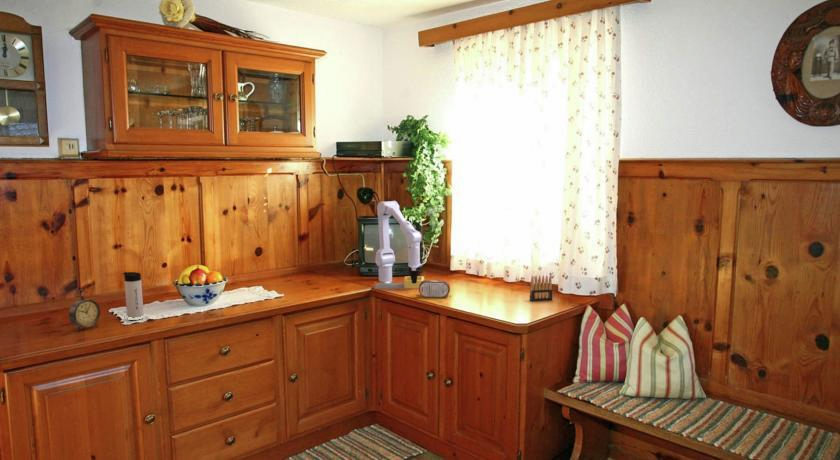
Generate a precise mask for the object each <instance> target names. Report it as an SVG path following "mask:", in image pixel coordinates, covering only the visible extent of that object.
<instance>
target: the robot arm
mask: <svg viewBox="0 0 840 460" xmlns="http://www.w3.org/2000/svg"><path fill="white" fill-rule="evenodd" d="M376 209H377V222H378V238H379V249H377V251H376V252H375V259H374V262H375V264H376V266H377V267H378V281H379V283H389V282H390V283H391V282H392V281H393V266H394V264H395V262H396V256H395V254H394V253H395V252H394V250H393V249H392V248H391V247H390V245H391V242H390V241H391V240H390V228H389V227H390V223H389V219H390V217H391V216H392V217H393V218H394V219H395V220H396V221H397V223H399V225H400V226H399V228H400V230H401V231H402V233H403V235H404V236H405V241H406V244H407V247H408V250H407V251H408V257H407V258H408V264H407V266H408V269H407V270H408V273H409V277H411V281H412V283H416V282H417V277H419V273H420V271H421V270H420V269H421V267H422V266H423V264H422V263H421V261H420V260H421V255H420V254H421V252H420V250H421V249H420V248H421V245H420V243H421V242H422V241H423V235H422V233H421V231H418V230H416V229H415V227H414V226H413V225H412V223H411V222H410V220H409V221H408V220H406V218H405V217H404V215H403V213H402V212H401V210H400V205H399V203H398V201H396V200H391V201H389V200H387V201H379V202H378V204H377V206H376Z"/></svg>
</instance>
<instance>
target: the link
mask: <svg viewBox="0 0 840 460" xmlns="http://www.w3.org/2000/svg"><path fill="white" fill-rule="evenodd" d="M424 280H425V276H417V282H416V283H412V281H411V276H404V280H403V283H404V288H419V285H420V283H421V282H422V281H424Z"/></svg>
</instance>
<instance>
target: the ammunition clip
mask: <svg viewBox="0 0 840 460" xmlns="http://www.w3.org/2000/svg"><path fill="white" fill-rule="evenodd" d="M543 301H545V302H546V301H553V282H552V275H551V274H550V275H549V276H548V275H544V274H543V275H542V277H541V275H539V276H537V275H535V277H534V275H531V279H530V289H529V302H543Z"/></svg>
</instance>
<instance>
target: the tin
mask: <svg viewBox="0 0 840 460" xmlns="http://www.w3.org/2000/svg"><path fill="white" fill-rule="evenodd" d="M418 292H419V294H420V296H422V297H424V298H427V297H428V299H429V298H432V299H434V298H435V299H439V298H440V299H443V298H446V297H447V296H449V294H450V292H451V287H450V284H449V283H448V282H447V281H446V280H443V279H424V281H422V282H421V283H420V285H419V289H418Z"/></svg>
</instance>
